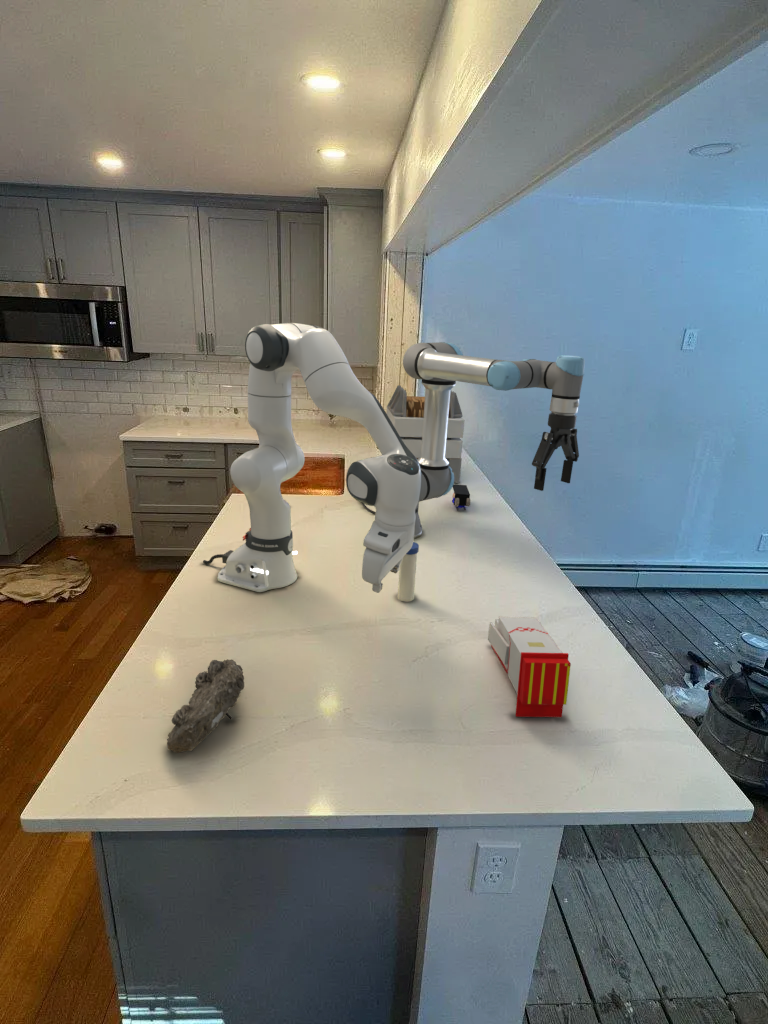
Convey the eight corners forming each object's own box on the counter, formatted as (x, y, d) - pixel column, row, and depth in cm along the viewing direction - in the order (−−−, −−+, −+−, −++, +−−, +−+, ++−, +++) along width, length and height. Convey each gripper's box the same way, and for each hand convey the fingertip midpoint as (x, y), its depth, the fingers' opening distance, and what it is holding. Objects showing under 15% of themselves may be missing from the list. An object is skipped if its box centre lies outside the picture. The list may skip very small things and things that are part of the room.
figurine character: (470, 515, 225) (465, 499, 238) (472, 498, 221) (467, 483, 235) (453, 515, 224) (449, 499, 238) (455, 497, 221) (451, 482, 234)
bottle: (398, 601, 154) (401, 550, 149) (396, 593, 158) (399, 543, 153) (415, 601, 154) (418, 549, 149) (412, 593, 159) (415, 543, 153)
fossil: (192, 660, 117) (244, 628, 112) (224, 691, 120) (276, 661, 115) (142, 746, 98) (202, 712, 93) (182, 779, 101) (242, 748, 96)
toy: (534, 602, 136) (579, 659, 107) (529, 653, 139) (572, 723, 110) (484, 601, 136) (516, 658, 107) (480, 652, 139) (510, 722, 109)
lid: (400, 554, 149) (400, 548, 148) (397, 546, 153) (398, 541, 153) (420, 554, 149) (420, 548, 149) (416, 546, 154) (417, 541, 154)
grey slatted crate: (382, 463, 289) (386, 382, 275) (445, 464, 293) (451, 384, 279) (390, 482, 257) (394, 392, 243) (460, 483, 261) (468, 394, 247)
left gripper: (399, 507, 133) (392, 556, 140) (359, 542, 117) (353, 597, 123) (424, 514, 131) (415, 565, 138) (387, 552, 114) (379, 607, 121)
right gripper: (548, 419, 148) (537, 496, 155) (598, 411, 163) (586, 482, 171) (525, 414, 153) (515, 489, 160) (575, 407, 169) (564, 476, 176)
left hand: (386, 580), depth 130 cm, fingers open, 8 cm apart
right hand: (552, 485), depth 166 cm, fingers open, 13 cm apart
